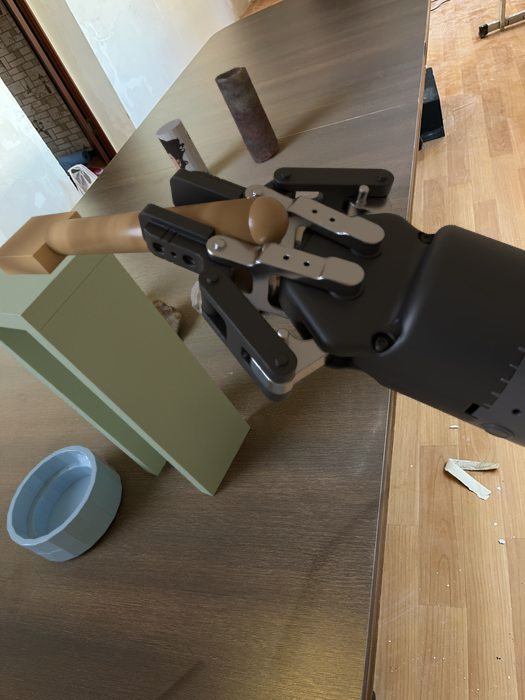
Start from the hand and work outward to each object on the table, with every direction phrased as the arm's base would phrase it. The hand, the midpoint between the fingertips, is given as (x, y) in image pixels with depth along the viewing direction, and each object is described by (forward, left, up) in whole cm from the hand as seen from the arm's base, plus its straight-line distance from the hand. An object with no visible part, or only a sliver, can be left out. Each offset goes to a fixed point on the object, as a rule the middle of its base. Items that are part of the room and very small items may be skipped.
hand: (161, 205), depth 24 cm
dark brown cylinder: (+78, +55, -39) cm, 103 cm away
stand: (+2, +25, -38) cm, 46 cm away
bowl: (-11, +38, -38) cm, 55 cm away
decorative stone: (+18, +46, -39) cm, 63 cm away
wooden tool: (0, +5, -3) cm, 6 cm away
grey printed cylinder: (+70, +72, -39) cm, 108 cm away
